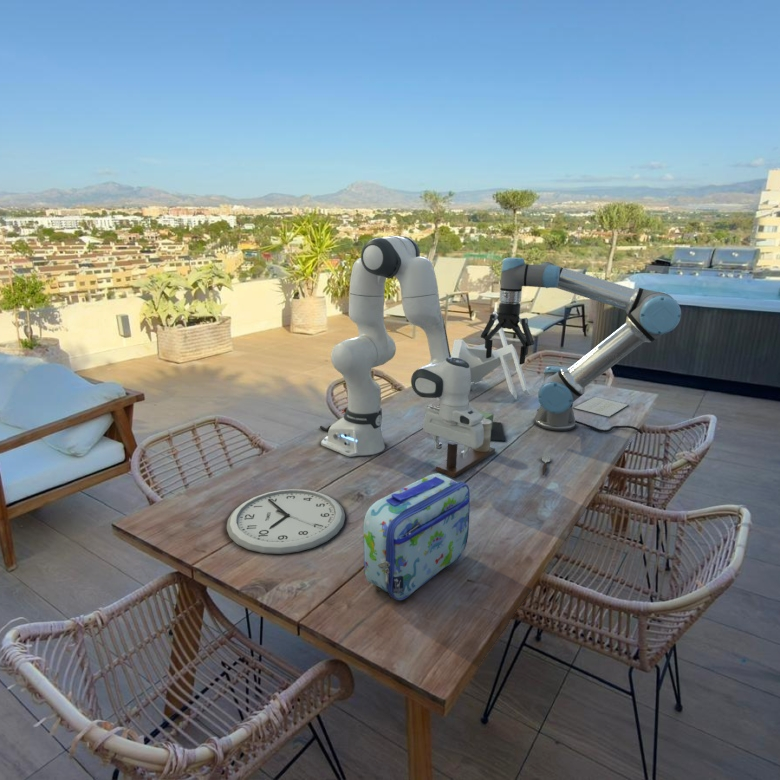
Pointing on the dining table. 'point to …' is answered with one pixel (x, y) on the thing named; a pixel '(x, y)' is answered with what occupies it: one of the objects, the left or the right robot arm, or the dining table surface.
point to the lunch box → (415, 534)
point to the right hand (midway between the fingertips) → (504, 360)
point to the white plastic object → (490, 360)
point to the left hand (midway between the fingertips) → (450, 452)
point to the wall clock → (285, 521)
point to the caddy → (474, 456)
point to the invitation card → (601, 406)
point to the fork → (545, 461)
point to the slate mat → (497, 432)
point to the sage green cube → (487, 416)
